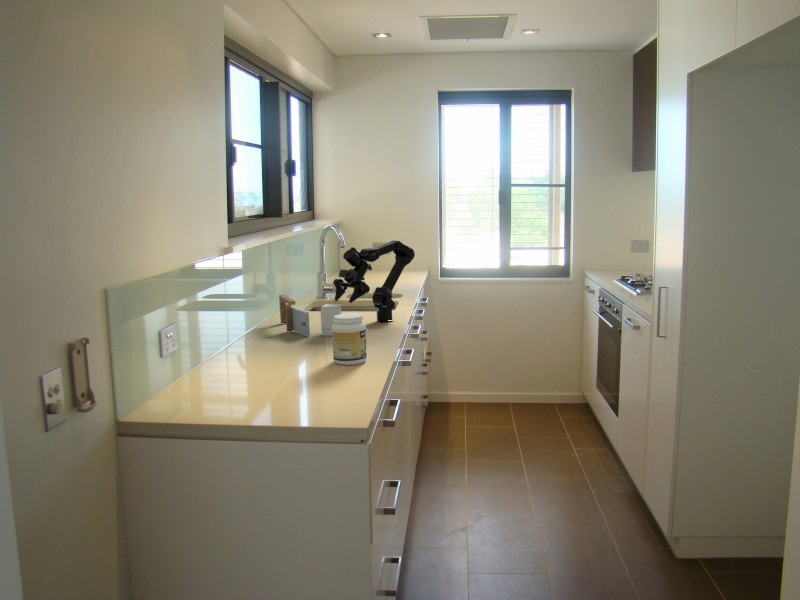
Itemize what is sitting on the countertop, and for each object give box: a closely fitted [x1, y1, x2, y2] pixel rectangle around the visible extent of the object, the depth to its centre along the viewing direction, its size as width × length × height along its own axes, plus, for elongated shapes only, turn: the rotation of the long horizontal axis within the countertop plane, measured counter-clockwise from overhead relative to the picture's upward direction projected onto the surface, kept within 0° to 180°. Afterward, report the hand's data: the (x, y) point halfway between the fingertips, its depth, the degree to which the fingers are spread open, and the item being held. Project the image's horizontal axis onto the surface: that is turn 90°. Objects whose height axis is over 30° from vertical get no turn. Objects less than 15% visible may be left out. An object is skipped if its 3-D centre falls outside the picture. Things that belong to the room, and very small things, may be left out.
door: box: [291, 307, 311, 337], centre depth 303 cm, size 16×2×10 cm, turn 32°
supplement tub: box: [331, 312, 368, 366], centre depth 251 cm, size 12×12×17 cm
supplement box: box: [320, 303, 342, 337], centre depth 301 cm, size 7×7×13 cm
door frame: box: [278, 294, 296, 332], centre depth 318 cm, size 22×4×14 cm, turn 22°
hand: (342, 301), depth 306 cm, fingers open, 9 cm apart
